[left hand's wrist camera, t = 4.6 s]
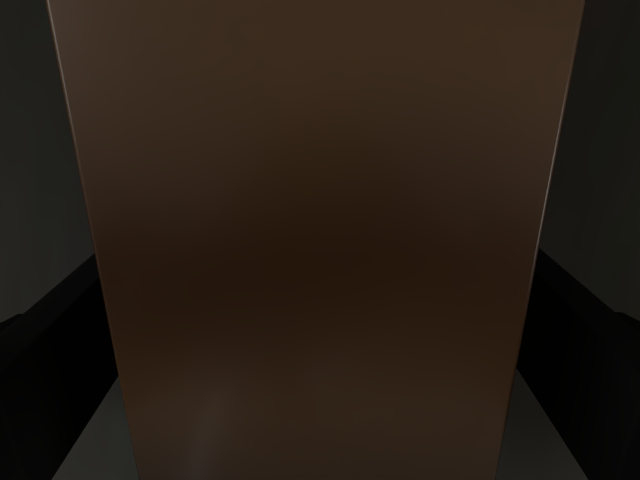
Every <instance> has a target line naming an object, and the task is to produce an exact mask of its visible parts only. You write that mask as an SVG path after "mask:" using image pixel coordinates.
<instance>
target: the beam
mask: <svg viewBox="0 0 640 480" xmlns="http://www.w3.org/2000/svg"><path fill="white" fill-rule="evenodd" d="M45 1H46V7H47V12H48V17H49V22H50V27H51V32H52V37H53V42H54V47H55V53H56V58H57V63H58V68H59V73H60V78H61V83H62V88H63V93H64V99H65V104H66V109H67V114H68V119H69V124H70V129H71V134H72V139H73V145H74V150H75V155H76V160H77V165H78V170H79V175H80V180H81V185H82V191H83V196H84V201H85V206H86V211H87V216H88V221H89V226H90V231H91V237H92V242H93V247H94V252H95V257H96V262H97V267H98V272H99V277H100V283H101V288H102V293H103V298H104V303H105V308H106V313H107V318H108V323H109V329H110V334H111V339H112V344H113V349H114V354H115V359H116V364H117V369H118V375H119V380H120V385H121V390H122V395H123V400H124V405H125V410H126V415H127V421H128V426H129V431H130V436H131V441H132V446H133V451H134V456H135V461H136V466H137V472H138V477H139V480H495V477H496V472H497V467H498V461H499V456H500V451H501V446H502V440H503V435H504V430H505V424H506V419H507V414H508V409H509V403H510V398H511V393H512V387H513V382H514V377H515V372H516V366H517V361H518V356H519V350H520V345H521V340H522V335H523V329H524V324H525V319H526V313H527V308H528V303H529V298H530V292H531V287H532V282H533V276H534V271H535V266H536V261H537V255H538V250H539V245H540V239H541V234H542V229H543V224H544V218H545V213H546V208H547V202H548V197H549V192H550V187H551V181H552V176H553V171H554V165H555V160H556V155H557V150H558V144H559V139H560V134H561V128H562V123H563V118H564V113H565V107H566V102H567V97H568V91H569V86H570V81H571V76H572V70H573V65H574V60H575V54H576V49H577V44H578V39H579V33H580V28H581V23H582V17H583V12H584V7H585V2H586V0H45Z"/></svg>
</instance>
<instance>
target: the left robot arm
mask: <svg viewBox="0 0 640 480" xmlns="http://www.w3.org/2000/svg"><path fill="white" fill-rule="evenodd" d="M516 368H517V369H518V371H519V372H520V374H521V375H522V377H523V378H524V380H525V382H526V383H527V385H528V386H529V388H530V389H531V391H532V392H533V394H534V396H535V397H536V399H537V400H538V402H539V403H540V405H541V406H542V408H543V410H544V411H545V413H546V414H547V416H548V417H549V419H550V420H551V422H552V424H553V425H554V427H555V428H556V430H557V431H558V433H559V434H560V436H561V438H562V439H563V441H564V442H565V444H566V445H567V447H568V448H569V450H570V452H571V453H572V455H573V456H574V458H575V459H576V461H577V462H578V464H579V466H580V467H581V469H582V470H583V472H584V473H585V475H586V476H587V478H588V480H640V321H638V320H636V319H634V318H632V317H630V316H628V315H626V314H624V313H622V312H614V311H613V310H611V309H610V308H609V307H608V306H607V305H606V304H604V303H603V302H602V301H601V300H600V299H598V298H597V297H596V296H595V295H594V294H593V293H591V292H590V291H589V290H588V289H587V288H586V287H584V286H583V285H582V284H581V283H580V282H578V281H577V280H576V279H575V278H574V277H573V276H571V275H570V274H569V273H568V272H567V271H566V270H564V269H563V268H562V267H561V266H560V265H558V264H557V263H556V262H555V261H554V260H553V259H551V258H550V257H549V256H548V255H547V254H546V253H544V252H543V251H542V250H541V249H540V248H539V250H538V255H537V261H536V266H535V271H534V276H533V282H532V287H531V292H530V298H529V303H528V308H527V313H526V319H525V324H524V329H523V335H522V340H521V345H520V350H519V356H518V361H517V366H516ZM117 377H118V369H117V364H116V359H115V354H114V349H113V344H112V339H111V334H110V329H109V323H108V318H107V313H106V308H105V303H104V298H103V293H102V288H101V283H100V277H99V272H98V267H97V262H96V257H95V253H94V254H93V255H92V256H91V257H90V258H89V259H87V260H86V261H85V262H84V263H83V264H82V265H80V266H79V267H78V268H77V269H76V270H74V271H73V272H72V273H71V274H70V275H69V276H67V277H66V278H65V279H64V280H63V281H62V282H60V283H59V284H58V285H57V286H56V287H54V288H53V289H52V290H51V291H50V292H49V293H47V294H46V295H45V296H44V297H43V298H42V299H40V300H39V301H38V302H37V303H36V304H34V305H33V306H32V307H31V308H30V309H29V310H27V311H26V312H25V313H24V314H17V315H15V316H13V317H11V318H9V319H8V320H6V321H4V322H2V323H0V480H52V478H53V476H54V475H55V473H56V472H57V470H58V469H59V467H60V466H61V464H62V462H63V461H64V459H65V458H66V456H67V455H68V453H69V452H70V450H71V448H72V447H73V445H74V444H75V442H76V441H77V439H78V438H79V436H80V434H81V433H82V431H83V430H84V428H85V427H86V425H87V424H88V422H89V420H90V419H91V417H92V416H93V414H94V413H95V411H96V410H97V408H98V406H99V405H100V403H101V402H102V400H103V399H104V397H105V396H106V394H107V392H108V391H109V389H110V388H111V386H112V385H113V383H114V382H115V380H116V378H117Z"/></svg>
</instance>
